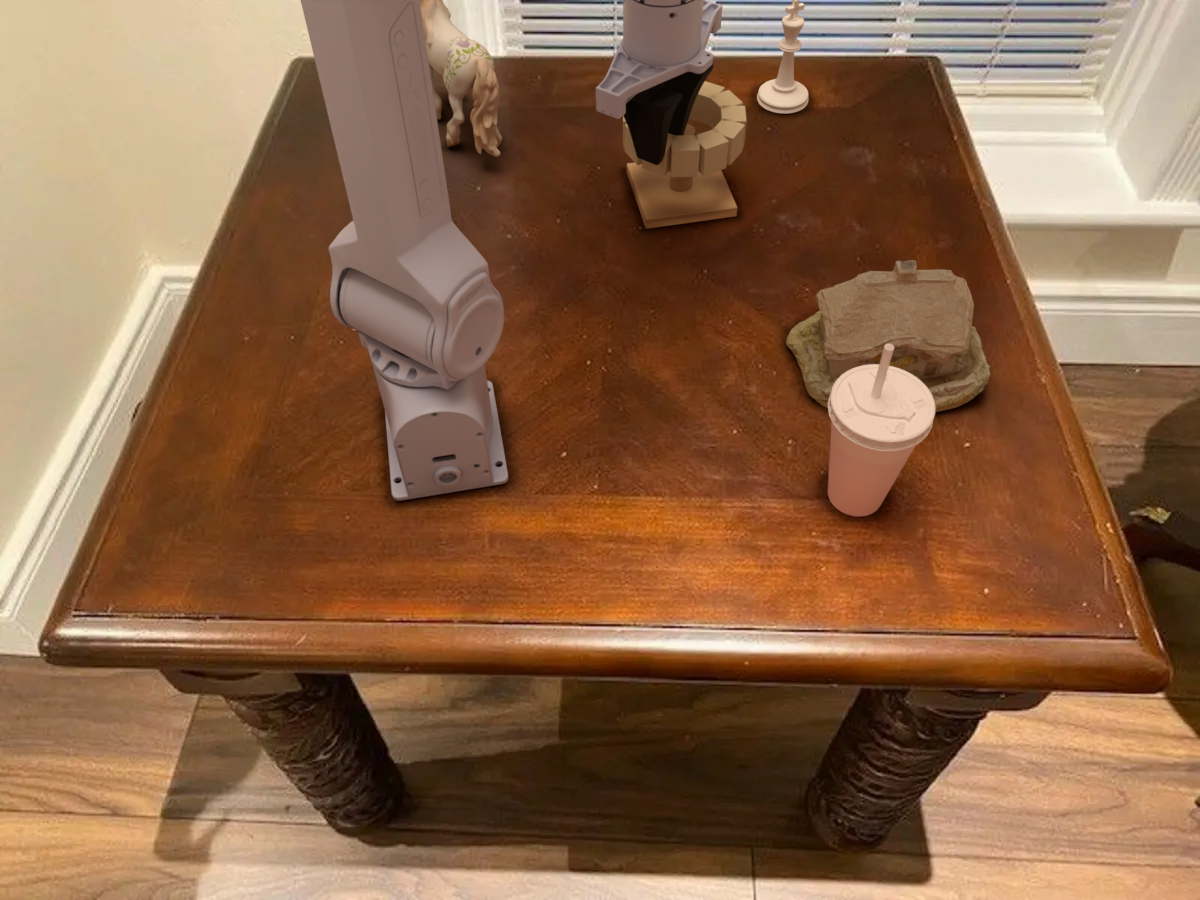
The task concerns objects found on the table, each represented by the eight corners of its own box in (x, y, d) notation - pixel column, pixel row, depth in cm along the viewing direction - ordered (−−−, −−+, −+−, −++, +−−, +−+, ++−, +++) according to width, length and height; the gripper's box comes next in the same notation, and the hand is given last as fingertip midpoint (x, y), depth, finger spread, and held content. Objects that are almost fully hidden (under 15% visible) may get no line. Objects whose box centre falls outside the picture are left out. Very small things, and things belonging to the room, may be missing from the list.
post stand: (736, 216, 89) (743, 152, 84) (645, 229, 88) (647, 165, 83) (712, 161, 94) (718, 97, 88) (626, 172, 93) (626, 108, 88)
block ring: (760, 167, 84) (764, 139, 82) (639, 187, 83) (639, 159, 81) (723, 97, 90) (725, 70, 88) (609, 115, 89) (609, 88, 87)
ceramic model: (794, 421, 74) (814, 321, 67) (781, 312, 81) (798, 210, 74) (991, 423, 74) (1035, 323, 66) (962, 313, 81) (998, 211, 73)
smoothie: (839, 442, 73) (877, 297, 62) (920, 488, 71) (975, 344, 60) (789, 500, 70) (820, 358, 59) (872, 550, 68) (920, 411, 57)
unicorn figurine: (409, 67, 104) (384, -67, 93) (549, 143, 96) (540, 4, 85) (353, 99, 101) (322, -37, 90) (494, 179, 92) (477, 40, 82)
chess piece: (747, 92, 100) (757, -8, 92) (791, 79, 101) (805, -20, 94) (773, 119, 97) (786, 18, 90) (818, 105, 99) (835, 5, 91)
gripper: (656, 50, 67) (652, 216, 78) (763, -42, 75) (746, 121, 85) (568, 20, 70) (575, 184, 81) (680, -67, 77) (673, 95, 88)
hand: (658, 150), depth 83 cm, fingers closed on block ring, 2 cm apart
